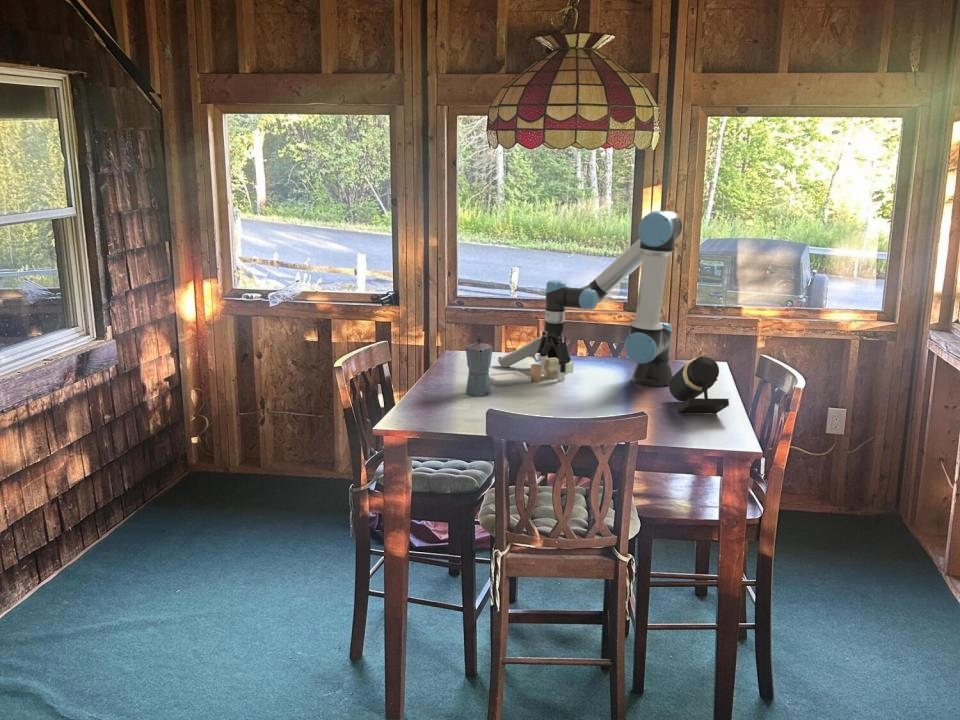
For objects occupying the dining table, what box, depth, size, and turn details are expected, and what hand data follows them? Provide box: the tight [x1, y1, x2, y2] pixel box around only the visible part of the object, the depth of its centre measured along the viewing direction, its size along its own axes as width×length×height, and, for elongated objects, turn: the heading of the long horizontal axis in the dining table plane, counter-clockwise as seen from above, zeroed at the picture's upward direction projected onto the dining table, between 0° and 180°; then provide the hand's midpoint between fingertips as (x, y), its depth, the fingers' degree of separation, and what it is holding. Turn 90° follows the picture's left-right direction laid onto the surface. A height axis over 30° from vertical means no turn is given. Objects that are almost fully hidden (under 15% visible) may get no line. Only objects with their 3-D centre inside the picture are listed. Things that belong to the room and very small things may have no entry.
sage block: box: [565, 361, 574, 375], centre depth 352 cm, size 4×4×4 cm
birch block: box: [543, 358, 559, 380], centre depth 343 cm, size 5×5×7 cm
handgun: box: [497, 335, 572, 368], centre depth 357 cm, size 4×28×15 cm, turn 85°
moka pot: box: [465, 338, 494, 397], centre depth 317 cm, size 10×15×20 cm, turn 9°
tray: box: [488, 370, 532, 387], centre depth 337 cm, size 12×14×2 cm
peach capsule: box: [530, 363, 542, 383], centre depth 337 cm, size 4×4×6 cm
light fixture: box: [668, 355, 730, 414], centre depth 302 cm, size 13×18×26 cm
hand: (552, 376), depth 344 cm, fingers open, 12 cm apart
